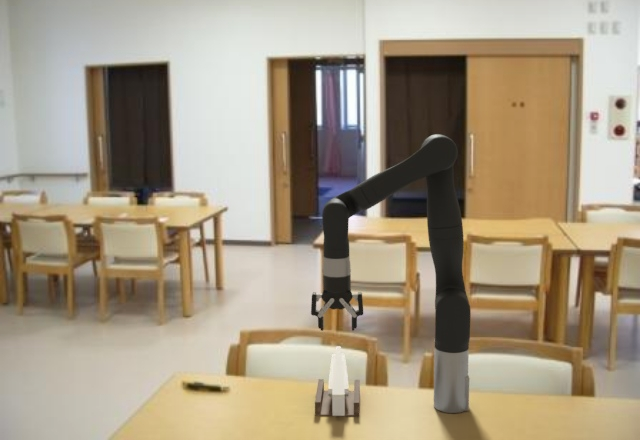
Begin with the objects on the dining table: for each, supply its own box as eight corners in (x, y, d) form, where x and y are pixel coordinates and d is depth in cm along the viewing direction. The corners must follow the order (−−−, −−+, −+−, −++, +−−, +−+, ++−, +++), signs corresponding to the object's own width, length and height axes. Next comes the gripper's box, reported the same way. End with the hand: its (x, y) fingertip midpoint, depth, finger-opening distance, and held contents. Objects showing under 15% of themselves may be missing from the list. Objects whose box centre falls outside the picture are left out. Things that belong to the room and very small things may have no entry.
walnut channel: (359, 392, 211) (359, 379, 210) (359, 416, 195) (359, 402, 195) (318, 391, 212) (318, 379, 211) (315, 415, 196) (314, 402, 195)
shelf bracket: (347, 382, 217) (347, 346, 213) (349, 435, 194) (348, 396, 190) (329, 382, 218) (329, 346, 213) (328, 435, 194) (327, 396, 190)
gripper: (362, 269, 199) (363, 325, 202) (311, 269, 200) (312, 325, 203) (362, 275, 192) (363, 334, 195) (309, 276, 193) (310, 334, 196)
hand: (337, 329), depth 199 cm, fingers open, 8 cm apart
